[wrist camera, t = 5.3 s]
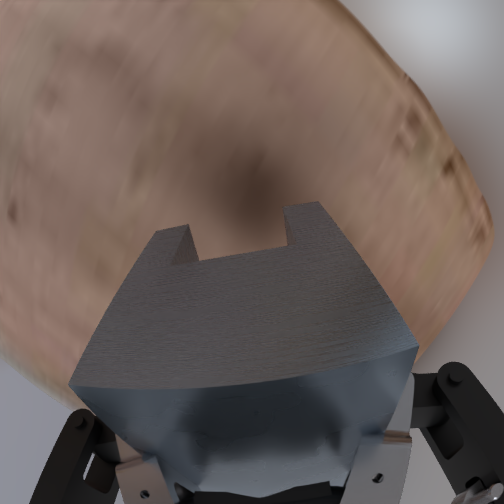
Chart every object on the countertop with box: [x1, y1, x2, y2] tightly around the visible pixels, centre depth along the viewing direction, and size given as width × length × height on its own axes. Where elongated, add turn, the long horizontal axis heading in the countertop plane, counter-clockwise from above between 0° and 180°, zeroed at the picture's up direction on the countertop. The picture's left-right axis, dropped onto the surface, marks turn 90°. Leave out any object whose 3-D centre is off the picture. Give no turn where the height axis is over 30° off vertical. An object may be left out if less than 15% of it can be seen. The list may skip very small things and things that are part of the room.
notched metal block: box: [68, 201, 419, 498], centre depth 9 cm, size 9×6×7 cm, turn 10°
